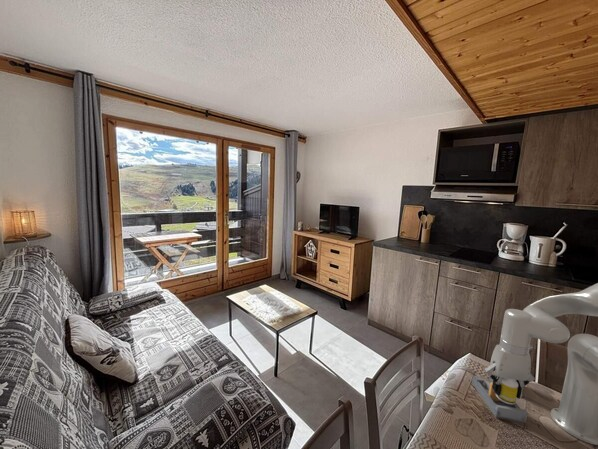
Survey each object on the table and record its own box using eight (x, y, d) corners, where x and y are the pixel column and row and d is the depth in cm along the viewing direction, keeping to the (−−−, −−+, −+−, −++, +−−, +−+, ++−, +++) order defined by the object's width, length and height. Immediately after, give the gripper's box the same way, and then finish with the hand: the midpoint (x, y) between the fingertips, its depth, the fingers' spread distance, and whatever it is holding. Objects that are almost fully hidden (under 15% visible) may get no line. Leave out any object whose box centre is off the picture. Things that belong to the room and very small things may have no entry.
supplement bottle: (519, 406, 84) (523, 380, 83) (501, 403, 85) (505, 377, 84) (509, 394, 89) (513, 369, 88) (492, 391, 90) (495, 366, 89)
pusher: (493, 385, 98) (496, 371, 97) (507, 402, 90) (509, 387, 89) (477, 383, 99) (479, 368, 98) (489, 399, 91) (492, 384, 90)
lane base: (496, 386, 99) (497, 377, 98) (525, 422, 83) (527, 412, 82) (471, 382, 100) (473, 373, 99) (496, 417, 84) (497, 407, 84)
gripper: (533, 343, 87) (525, 389, 89) (480, 336, 90) (473, 382, 92) (551, 356, 80) (542, 407, 82) (492, 349, 82) (485, 398, 85)
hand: (505, 393), depth 87 cm, fingers closed on supplement bottle, 5 cm apart
